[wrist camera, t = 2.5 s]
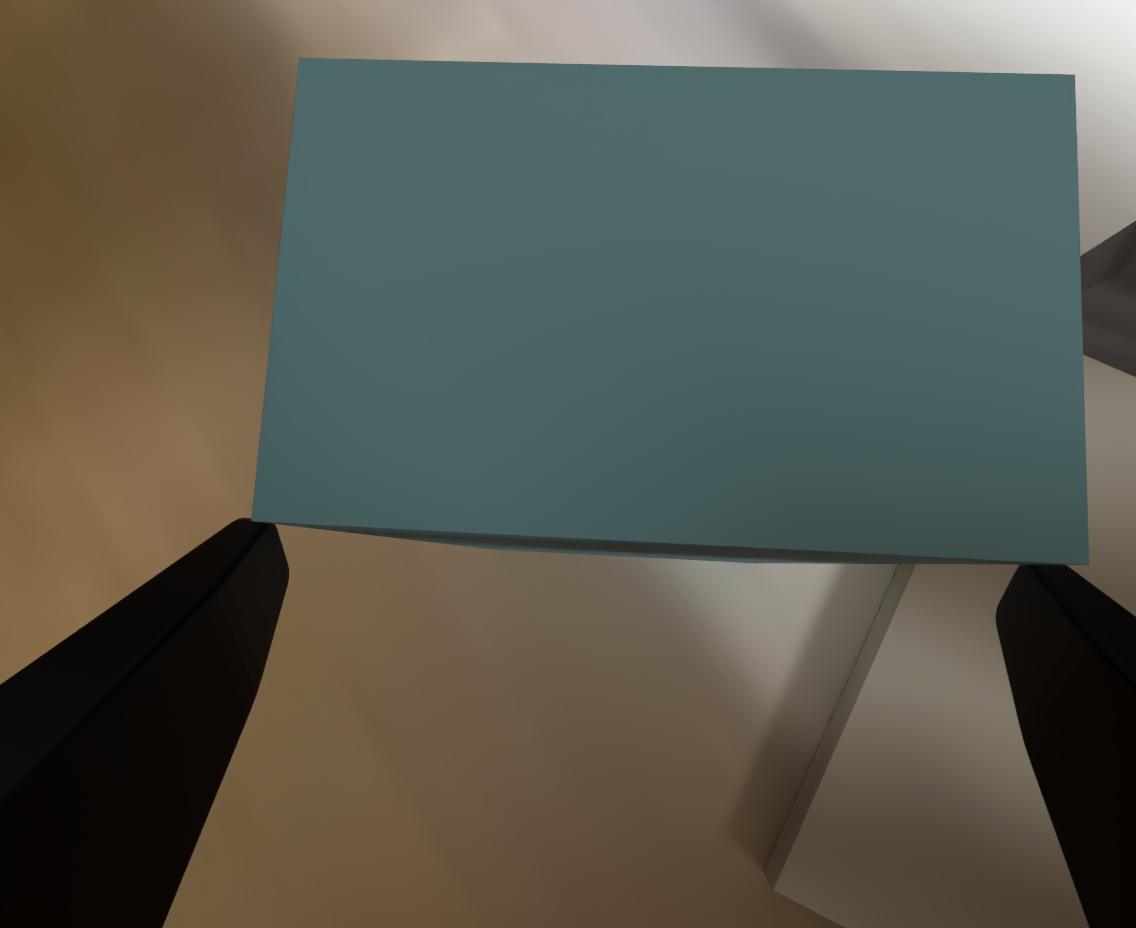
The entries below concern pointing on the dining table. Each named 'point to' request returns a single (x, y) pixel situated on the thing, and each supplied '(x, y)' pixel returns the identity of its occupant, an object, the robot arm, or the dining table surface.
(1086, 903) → the robot arm
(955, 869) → the grey l-shaped bracket
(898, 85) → the tall teal pillar
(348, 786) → the dining table surface
